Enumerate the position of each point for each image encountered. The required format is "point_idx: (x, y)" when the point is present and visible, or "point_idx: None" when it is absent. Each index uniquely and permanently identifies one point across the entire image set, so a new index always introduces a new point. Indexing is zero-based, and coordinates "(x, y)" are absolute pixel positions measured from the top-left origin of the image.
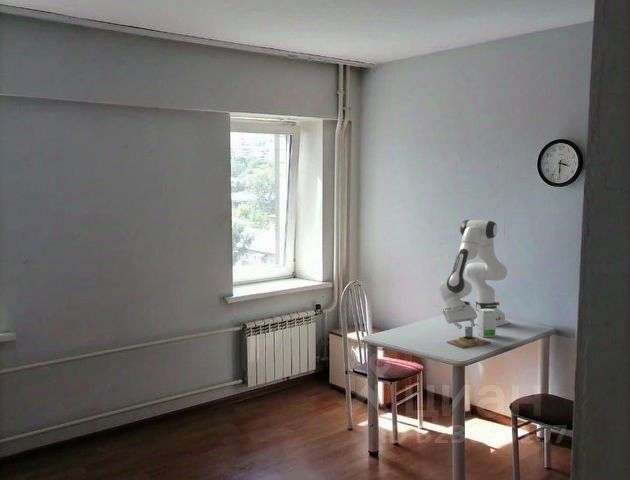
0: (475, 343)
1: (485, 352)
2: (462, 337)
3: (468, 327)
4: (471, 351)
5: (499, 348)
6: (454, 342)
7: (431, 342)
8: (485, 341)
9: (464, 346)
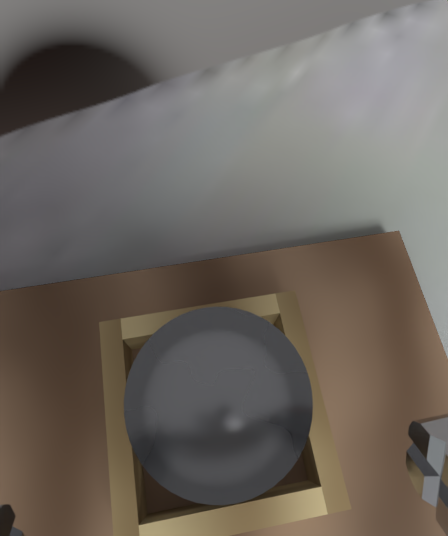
0: (190, 291)
1: (241, 75)
2: (291, 492)
3: (234, 390)
4: (346, 133)
5: (39, 125)
6: None
7: None
8: (12, 328)
9: (372, 235)
